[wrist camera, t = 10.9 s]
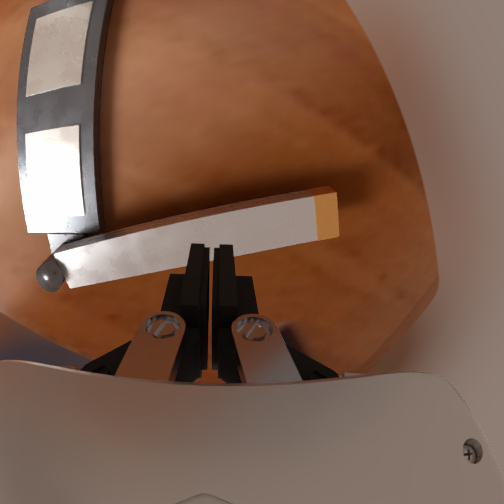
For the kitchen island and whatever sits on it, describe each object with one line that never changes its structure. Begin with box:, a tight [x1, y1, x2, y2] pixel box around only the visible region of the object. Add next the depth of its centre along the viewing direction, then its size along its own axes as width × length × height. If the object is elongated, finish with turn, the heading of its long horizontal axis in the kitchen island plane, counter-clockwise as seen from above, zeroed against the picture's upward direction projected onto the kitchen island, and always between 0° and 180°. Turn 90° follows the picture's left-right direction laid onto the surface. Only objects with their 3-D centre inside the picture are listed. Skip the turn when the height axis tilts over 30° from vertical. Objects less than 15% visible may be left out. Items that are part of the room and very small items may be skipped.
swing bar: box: [36, 186, 339, 292], centre depth 25 cm, size 30×4×5 cm, turn 100°
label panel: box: [17, 0, 113, 253], centre depth 21 cm, size 32×10×2 cm, turn 175°
